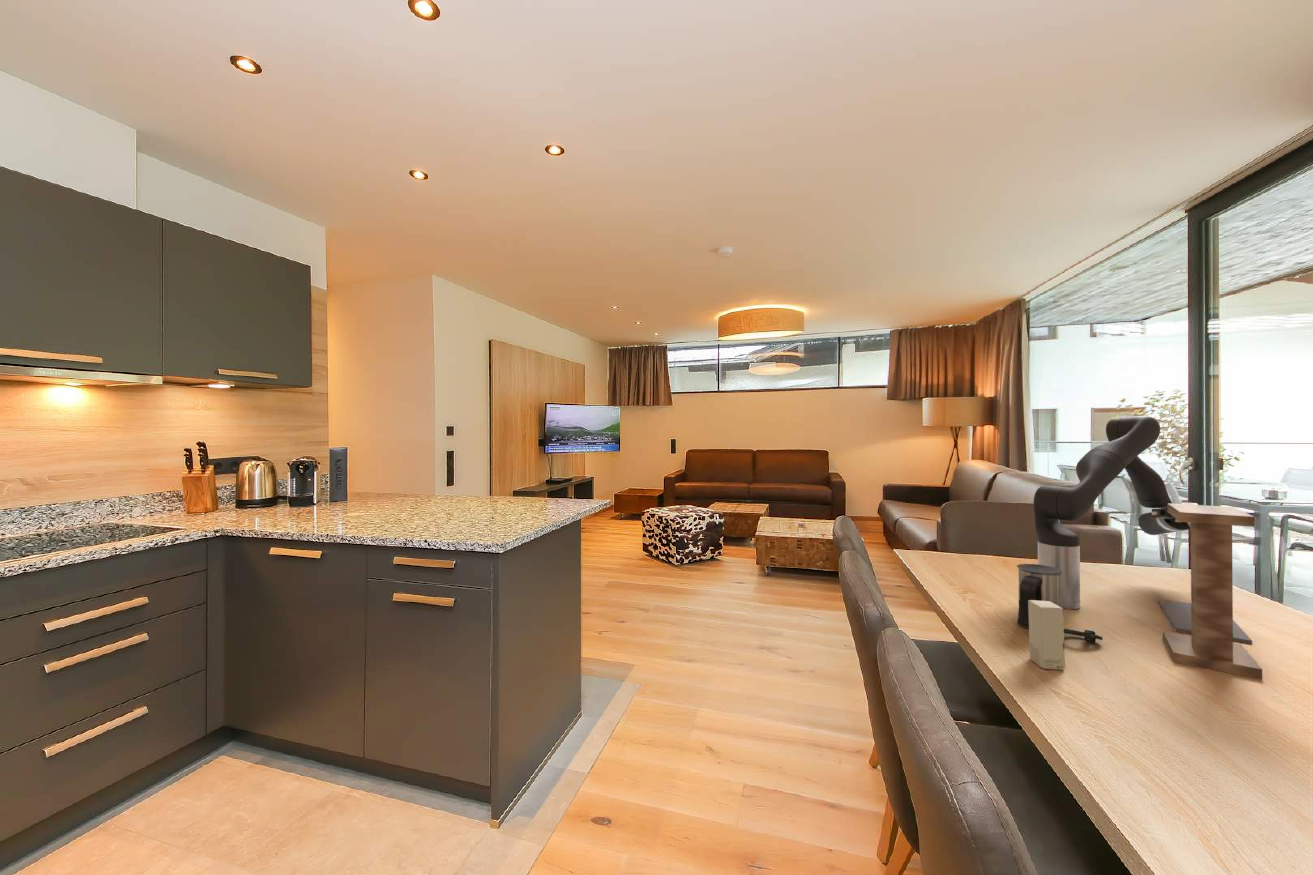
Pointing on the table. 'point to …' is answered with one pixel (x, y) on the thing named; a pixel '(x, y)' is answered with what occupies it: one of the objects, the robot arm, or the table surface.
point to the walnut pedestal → (1211, 593)
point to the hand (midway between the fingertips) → (1195, 512)
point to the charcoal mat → (1182, 619)
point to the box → (1046, 634)
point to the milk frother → (1043, 593)
